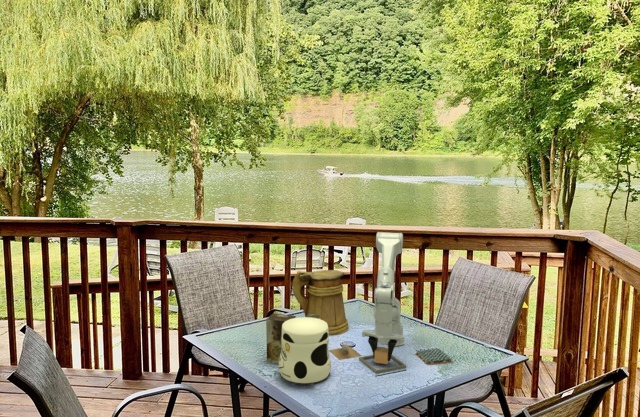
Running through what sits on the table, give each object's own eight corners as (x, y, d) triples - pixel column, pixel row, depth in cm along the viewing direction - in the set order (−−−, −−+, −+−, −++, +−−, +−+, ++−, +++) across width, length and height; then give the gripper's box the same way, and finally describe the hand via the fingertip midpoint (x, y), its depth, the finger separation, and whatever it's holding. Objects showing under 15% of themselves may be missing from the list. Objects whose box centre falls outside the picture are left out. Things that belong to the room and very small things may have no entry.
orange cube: (390, 359, 180) (390, 348, 179) (387, 364, 176) (387, 353, 175) (377, 357, 181) (378, 346, 181) (374, 362, 177) (374, 351, 177)
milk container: (268, 374, 172) (268, 322, 170) (310, 361, 183) (310, 312, 180) (298, 394, 158) (298, 339, 156) (341, 379, 169) (342, 327, 167)
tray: (387, 357, 187) (388, 352, 187) (406, 370, 176) (406, 365, 176) (358, 362, 182) (358, 357, 182) (375, 376, 171) (375, 371, 171)
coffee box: (296, 358, 184) (296, 315, 182) (289, 366, 178) (289, 321, 176) (273, 355, 187) (273, 312, 185) (265, 362, 181) (265, 318, 179)
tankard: (351, 337, 205) (352, 277, 202) (292, 338, 203) (292, 277, 200) (345, 321, 223) (346, 265, 219) (291, 322, 221) (291, 266, 218)
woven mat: (426, 367, 180) (427, 361, 180) (413, 355, 190) (414, 349, 190) (453, 364, 183) (453, 358, 182) (439, 352, 193) (439, 347, 193)
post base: (350, 349, 193) (350, 339, 193) (361, 358, 185) (361, 348, 185) (328, 352, 190) (328, 343, 189) (339, 362, 182) (339, 352, 181)
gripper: (359, 321, 176) (359, 359, 177) (401, 328, 170) (400, 366, 172) (365, 315, 182) (364, 351, 184) (406, 321, 177) (404, 358, 179)
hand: (382, 358), depth 179 cm, fingers closed on orange cube, 4 cm apart
